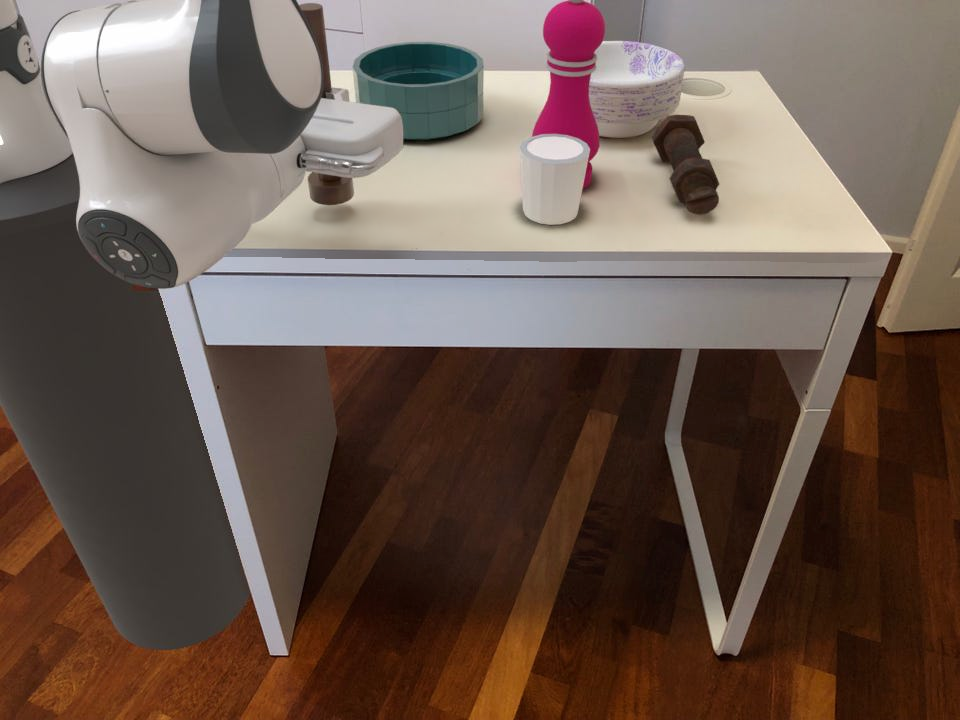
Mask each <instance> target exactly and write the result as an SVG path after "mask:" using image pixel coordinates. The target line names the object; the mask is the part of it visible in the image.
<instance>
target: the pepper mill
mask: <svg viewBox="0 0 960 720" xmlns="http://www.w3.org/2000/svg"><path fill="white" fill-rule="evenodd" d="M605 34H606V22H605V19H604V16H603V14H602V12H601V11H600V10H599V8H598V7H597V6H595V5H594V4H593V3H591V2H588V1H585V0H564V1H561V2H559V3H557V4H555V5H554V6H553V7H551V9H550V10H549V11H548V12H547V15H546V16H545V19H544V22H543V26H542V37H543V41H544V43H545V44H546V46H547V47H548V49H549V51H548V52H547V53H546V64H545V68H546V70H547V71H549V77H550V79H549V80H550V82H549V91H548V95H547V99H546V102H545V104H544V106H543V108H542V110H541V112H540V114H539V115H538V118H537V120H536V122H535V124H534V127H533V130H532V133H531V135H532V136H531V137H533V136H537V135H541V134H561V135H568V136H572V137H575V138H578V139H580V140H582V141H583V142H585V143H587V145H588V146H589V148H590V153H589V158H588V163H587V168H586V173H585V178H584V183H583V189H582V190H584V189H585V188H587V187H589V185H590V184H591V182H592V176H593V175H592V174H593V164H592V163H591V162H590V161H592V160H593V159H594V158H595V156H596V155H597V154H598V152H599V148H600V136H599V131H598V126H597V123H596V120H595V117H594V115H593V112H592V109H591V106H590V100H589V82H590V77H591V73H593V72H594V71H595V70H596V61H597V55H596V54H595V53H594V52H595V50H596V49H597V48H598V47H599V46H600V45H601V43H602V41H604V38H605Z"/></svg>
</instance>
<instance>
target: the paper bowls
mask: <svg viewBox="0 0 960 720" xmlns="http://www.w3.org/2000/svg"><path fill="white" fill-rule="evenodd" d="M594 53H595V54H596V55H597V61H596V70H595V71H594V72H593V73H591V77H590V82H589V100H590V106H591V109H592V112H593V115H594V117H595V120H596V123H597V126H598V131H599V137H604V138H612V139H613V138H615V139H623V138H625V139H626V138H633V137H637V136H640V135H643V134H646V133H648V132H649V131H651V130H653V129H654V128H655V126H656V125H657V124H658V122H659V121H660V120H661V119H663V118H666V117H667V116H670V115H671V114H673V113H674V112H676V110H677V109H678V107H679V105H680V102H681V98H682V97H681V96H682V91H683V81H684V76H685V69H686V67H685V63H684V60H683V59H682V58H681V57H680V56H679V55H678V54H677V53H675V52H674V51H671V50H669V49H667V48H664V47H662V46H658V45H654V44H650V43H645V42H640V41H632V40H631V41H629V40H603V41H602V43H601V45H600V46H599V47H598V48H597V49H596V50H595V52H594Z"/></svg>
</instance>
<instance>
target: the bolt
mask: <svg viewBox="0 0 960 720" xmlns="http://www.w3.org/2000/svg"><path fill="white" fill-rule="evenodd" d="M651 140H652V143H653V145H654V147H655V150H656V152H657V154H658V156H659V158H660V160H661V163H670V166H671V167H672V170H673V172H672V174H671V175H670V177H669V181H670V185H671V187H672V188H673V191H674V193H675V195H676V197H677V199H678V201H679V203H681V204H685V207H686V209H687V211H688V212H689V213H691V214H694V215H706V214H709V213H711V212H712V211H714V210H715V209H716V208H717V206H718V205H719V201H720V197H719V194H718V192H717V189H718V188H719V186H720V182H719V180H718V176H717V173H716V172H715V169H714V167H713V164H712V162H711V160H710V159H707V158H703V156H702V154H701V152H700V148H701V147H702V146H703V145H704V144H705V142H706V141H705V139H704V137H703V134H702V131H701V129H700V127H699V124H698V121H697V119H696V117H695V116H694V115H689V114H672V115H671V114H670V115H668V116H666V117H664V119H663V120H662V121H661V122H660V123H659V124H658V126H657V127H656V128H655V130H654V131H653V133H652V135H651Z"/></svg>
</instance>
